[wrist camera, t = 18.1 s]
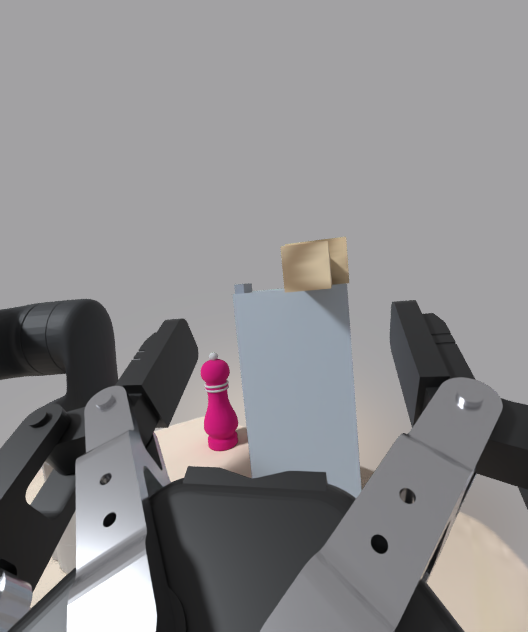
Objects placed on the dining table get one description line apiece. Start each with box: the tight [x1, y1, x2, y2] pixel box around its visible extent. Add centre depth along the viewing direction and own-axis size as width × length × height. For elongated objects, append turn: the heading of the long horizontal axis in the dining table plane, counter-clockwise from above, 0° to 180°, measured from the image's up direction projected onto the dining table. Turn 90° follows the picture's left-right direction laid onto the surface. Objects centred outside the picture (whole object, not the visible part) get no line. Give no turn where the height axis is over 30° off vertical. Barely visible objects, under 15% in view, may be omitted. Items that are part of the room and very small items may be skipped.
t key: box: [281, 237, 349, 293], centre depth 35 cm, size 8×24×6 cm, turn 167°
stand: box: [233, 283, 361, 498], centre depth 44 cm, size 14×11×33 cm
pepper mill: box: [201, 352, 238, 451], centre depth 65 cm, size 7×7×20 cm
